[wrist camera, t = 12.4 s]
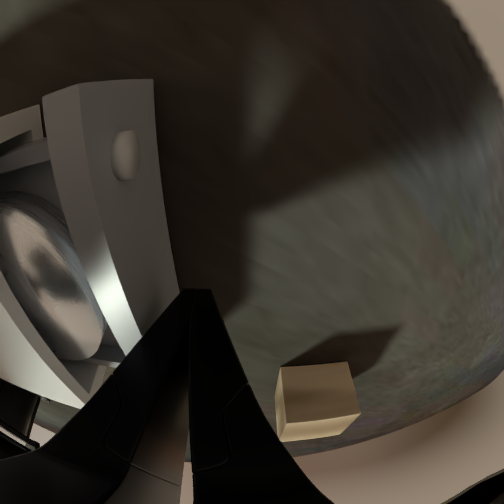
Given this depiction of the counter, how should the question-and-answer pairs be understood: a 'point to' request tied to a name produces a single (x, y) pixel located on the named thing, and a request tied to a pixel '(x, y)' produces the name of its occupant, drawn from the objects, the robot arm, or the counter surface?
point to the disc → (48, 275)
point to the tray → (105, 200)
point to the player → (19, 326)
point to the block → (314, 401)
